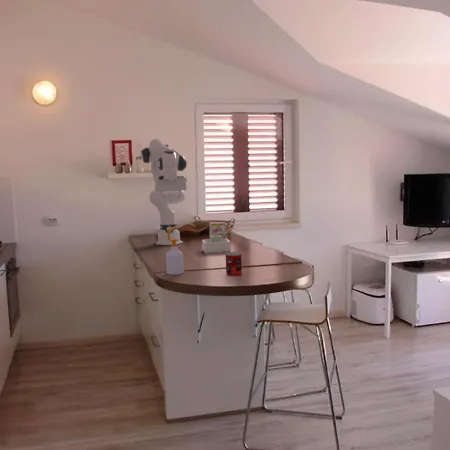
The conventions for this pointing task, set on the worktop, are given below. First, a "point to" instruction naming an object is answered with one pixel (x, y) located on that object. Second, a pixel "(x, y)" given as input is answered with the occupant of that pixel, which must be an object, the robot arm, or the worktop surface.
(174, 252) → the soap bottle
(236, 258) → the canned food
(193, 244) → the worktop surface
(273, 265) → the worktop surface
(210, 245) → the box
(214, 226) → the candy bar box
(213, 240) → the small tote
